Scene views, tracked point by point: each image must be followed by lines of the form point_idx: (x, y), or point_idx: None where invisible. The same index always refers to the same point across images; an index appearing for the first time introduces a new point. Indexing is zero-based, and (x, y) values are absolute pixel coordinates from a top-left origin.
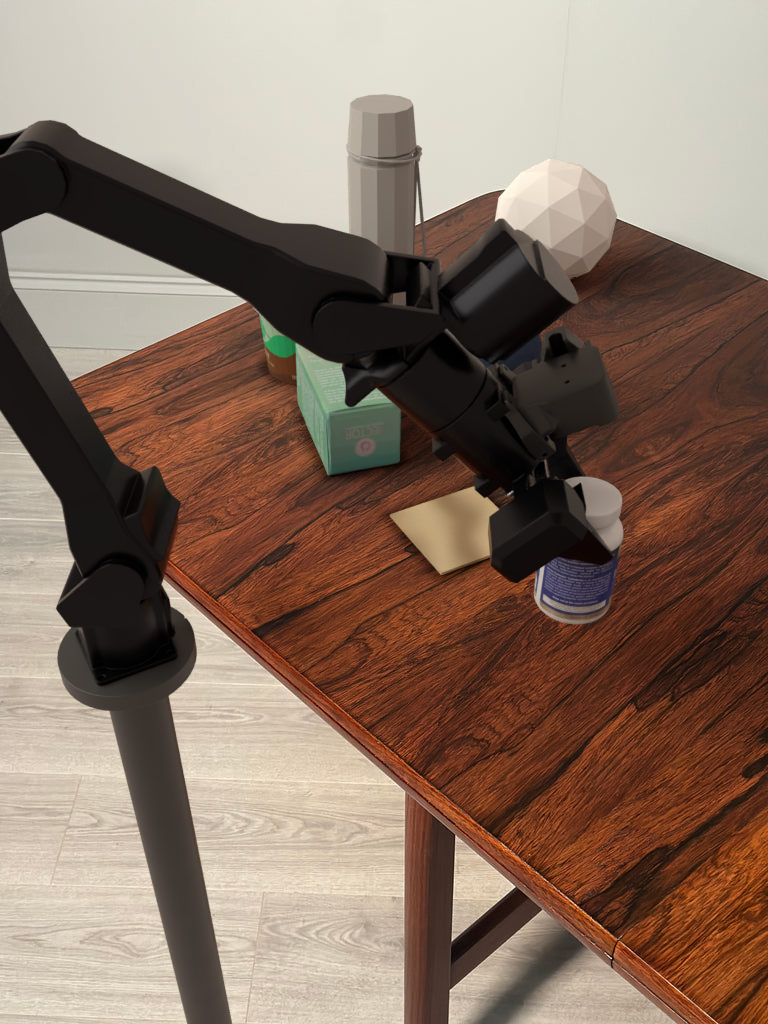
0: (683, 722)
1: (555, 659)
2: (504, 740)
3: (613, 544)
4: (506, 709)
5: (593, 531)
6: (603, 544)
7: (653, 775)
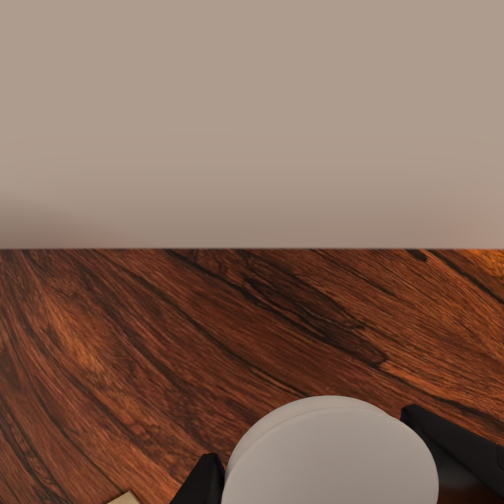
0: (388, 313)
1: None
2: None
3: (381, 410)
4: None
5: (482, 450)
6: (448, 424)
7: (455, 332)
